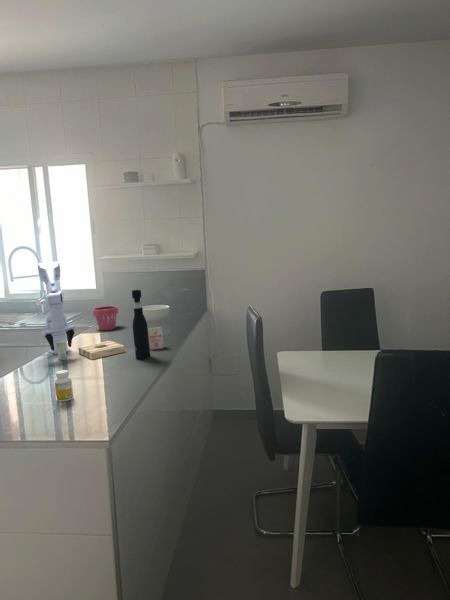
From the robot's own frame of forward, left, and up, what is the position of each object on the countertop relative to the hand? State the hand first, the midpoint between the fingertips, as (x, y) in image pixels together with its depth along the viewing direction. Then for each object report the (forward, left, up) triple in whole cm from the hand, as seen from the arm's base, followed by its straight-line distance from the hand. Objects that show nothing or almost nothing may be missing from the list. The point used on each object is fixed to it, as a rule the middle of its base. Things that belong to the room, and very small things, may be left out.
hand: (61, 348), depth 213 cm
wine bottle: (+29, +26, -5) cm, 39 cm away
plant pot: (-48, +42, -5) cm, 64 cm away
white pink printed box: (+19, +38, -5) cm, 43 cm away
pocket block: (+4, +17, -5) cm, 18 cm away
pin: (0, 0, -5) cm, 5 cm away
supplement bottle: (+55, -17, -5) cm, 58 cm away
